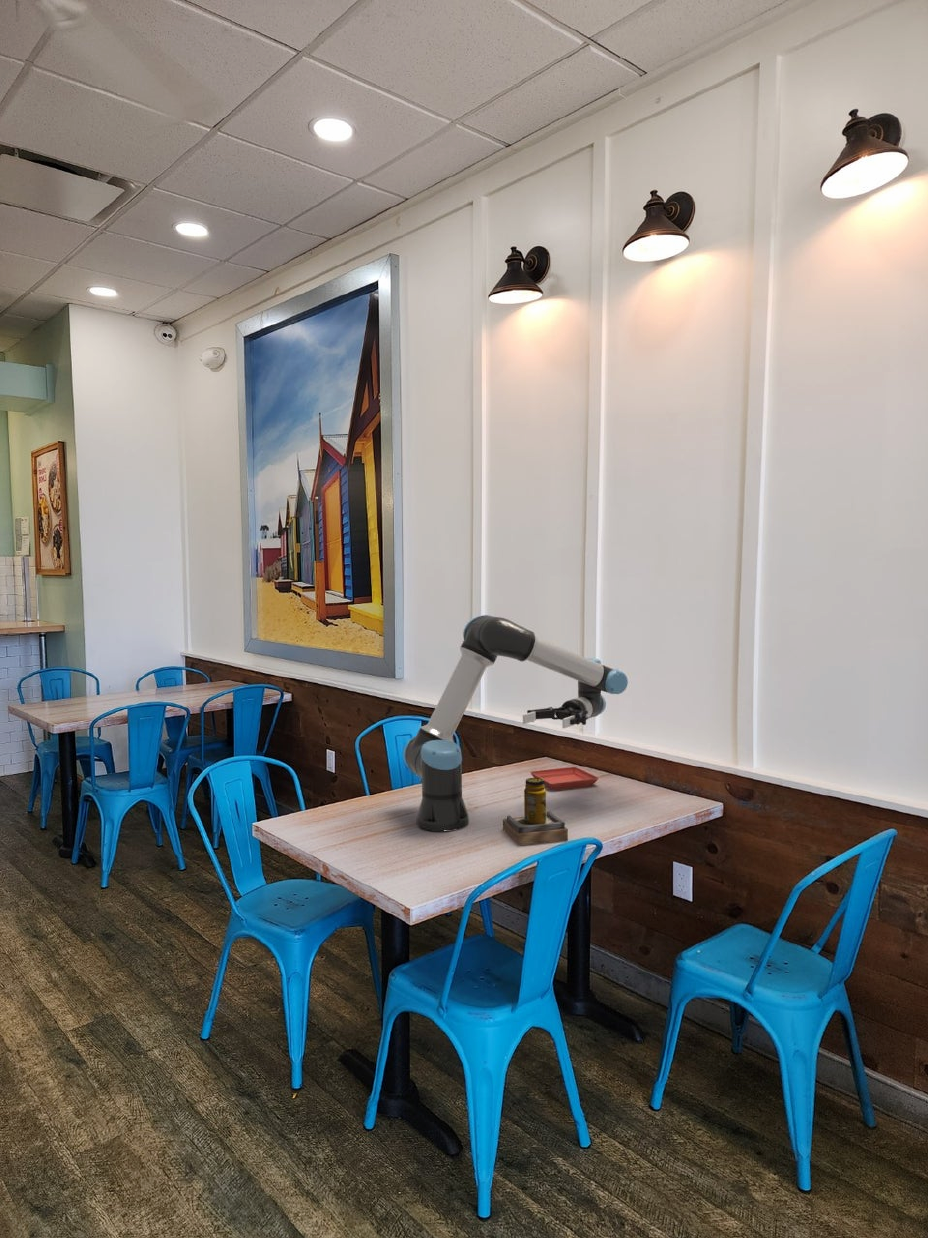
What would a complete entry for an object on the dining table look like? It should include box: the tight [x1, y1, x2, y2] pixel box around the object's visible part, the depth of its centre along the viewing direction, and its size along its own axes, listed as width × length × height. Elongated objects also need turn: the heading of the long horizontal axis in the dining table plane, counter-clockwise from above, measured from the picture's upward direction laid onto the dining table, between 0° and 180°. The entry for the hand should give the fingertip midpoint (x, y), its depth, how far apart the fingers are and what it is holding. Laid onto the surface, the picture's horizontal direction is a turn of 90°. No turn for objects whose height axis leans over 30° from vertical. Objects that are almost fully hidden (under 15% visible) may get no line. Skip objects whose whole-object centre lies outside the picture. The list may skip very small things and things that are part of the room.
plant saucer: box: [529, 766, 599, 791], centre depth 276 cm, size 18×18×3 cm
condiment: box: [516, 777, 552, 826], centre depth 223 cm, size 7×8×12 cm
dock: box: [502, 810, 569, 846], centre depth 223 cm, size 14×14×4 cm
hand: (543, 721), depth 240 cm, fingers open, 13 cm apart
